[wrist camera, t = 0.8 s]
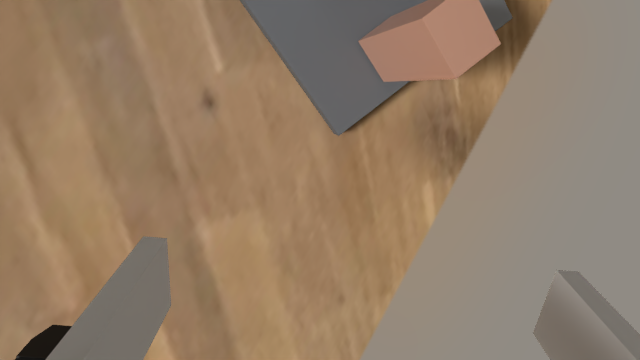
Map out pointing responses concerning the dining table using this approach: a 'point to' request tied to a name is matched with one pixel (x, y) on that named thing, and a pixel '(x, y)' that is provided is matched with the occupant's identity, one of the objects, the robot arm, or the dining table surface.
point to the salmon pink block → (430, 41)
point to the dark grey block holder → (338, 49)
